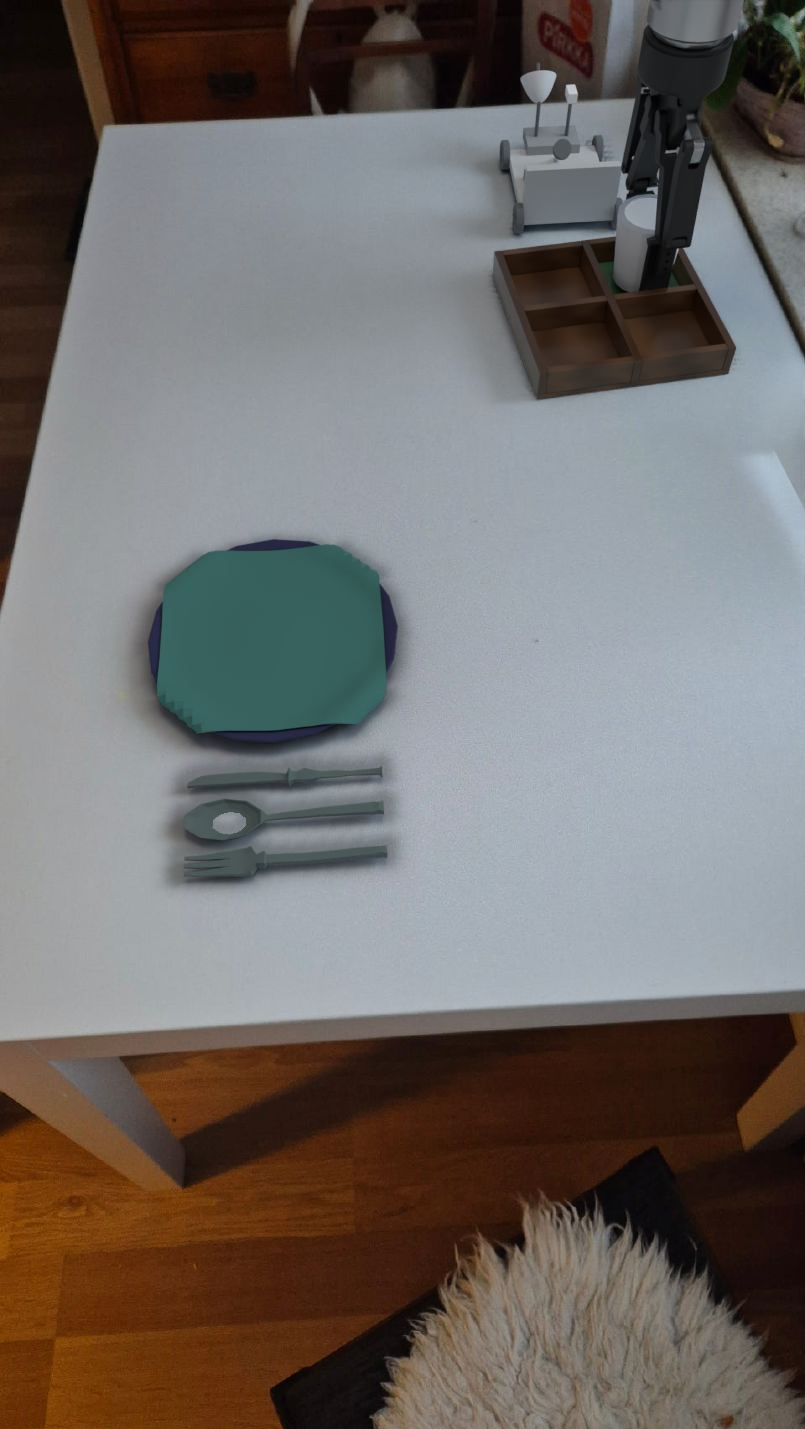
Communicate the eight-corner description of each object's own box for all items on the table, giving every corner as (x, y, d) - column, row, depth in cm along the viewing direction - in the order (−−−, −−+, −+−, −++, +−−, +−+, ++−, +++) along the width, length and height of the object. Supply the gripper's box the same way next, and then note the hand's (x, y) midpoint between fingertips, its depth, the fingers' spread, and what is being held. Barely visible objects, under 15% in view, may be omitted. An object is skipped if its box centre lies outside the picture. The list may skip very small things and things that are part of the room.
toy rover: (502, 59, 111) (606, 54, 112) (496, 148, 120) (593, 143, 120) (522, 149, 102) (636, 143, 102) (515, 239, 110) (620, 234, 110)
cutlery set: (390, 546, 87) (390, 528, 85) (416, 868, 71) (416, 855, 70) (160, 560, 87) (154, 542, 85) (134, 887, 71) (126, 875, 69)
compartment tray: (667, 256, 108) (673, 229, 106) (728, 374, 98) (736, 347, 96) (492, 278, 107) (494, 251, 104) (536, 400, 97) (539, 373, 94)
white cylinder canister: (595, 266, 105) (605, 202, 99) (654, 251, 106) (667, 186, 100) (626, 305, 102) (638, 240, 96) (686, 288, 103) (702, 224, 97)
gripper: (612, -21, 89) (579, 224, 109) (684, 93, 79) (633, 341, 98) (694, -30, 90) (646, 216, 109) (776, 83, 79) (707, 331, 99)
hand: (640, 275), depth 104 cm, fingers closed on white cylinder canister, 7 cm apart
